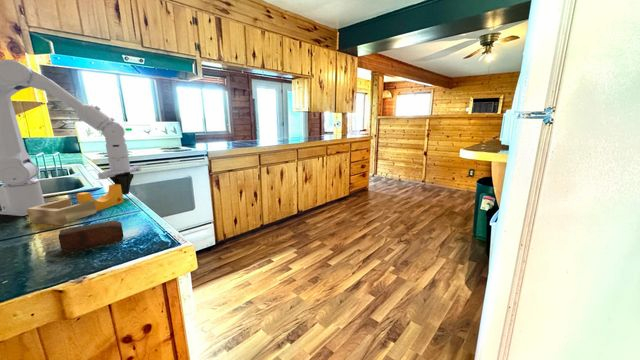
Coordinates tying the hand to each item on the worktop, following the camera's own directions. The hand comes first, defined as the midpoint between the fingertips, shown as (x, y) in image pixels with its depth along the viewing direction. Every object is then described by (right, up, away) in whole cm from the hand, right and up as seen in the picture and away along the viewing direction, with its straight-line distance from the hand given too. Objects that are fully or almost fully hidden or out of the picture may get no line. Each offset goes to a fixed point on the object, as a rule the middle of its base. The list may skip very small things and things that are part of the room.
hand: (125, 194), depth 92 cm
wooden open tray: (-3, -6, -18) cm, 19 cm away
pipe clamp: (0, -4, -9) cm, 10 cm away
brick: (+19, -10, -34) cm, 40 cm away
